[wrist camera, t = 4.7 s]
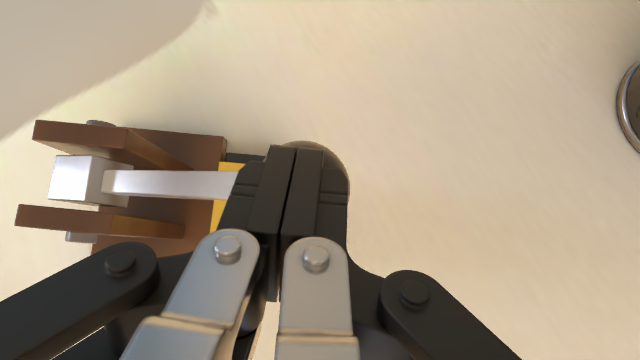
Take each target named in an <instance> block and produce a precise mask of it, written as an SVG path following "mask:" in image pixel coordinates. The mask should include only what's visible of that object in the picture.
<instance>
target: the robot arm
mask: <svg viewBox="0 0 640 360" xmlns="http://www.w3.org/2000/svg"><path fill="white" fill-rule="evenodd" d="M617 112H618V117H619V121H620V124H621V127H622V129H623V132H624V134H625V135H626V137H627V139H628V140H629V142H630V143H631V144H632V146H633V147H634V148H635V149H636V150H637V151H638V152H639V153H640V61H638V62H637V63H636V64H634V65H633V66H632V67H631V68H630V70H629V71H628V72H627V73H626V75H625V76H624V78H623V80H622V82H621V85H620V88H619V91H618V96H617ZM323 158H324V149H315V148H304V147H299V148H298V152H297V147H293V146H282V145H272V144H271V145H270V148H269V151H268V155H267V158H266V161H265V162H264V161H254V160H250V161H249V162H248V163H247V164H246V165H244V166H243V167H242V168H241V169H240V170H239V171H238V174H237V177H236V179H235V182H234V185H233V187H232V190H231V192H230V195H229V197H228V200H227V202H226V205H225V208H224V210H223V213H222V215H221V218H220V221H219V223H218V226H217V228H216V231H215V232H212V233H210V234H208V235H207V236H205V237H204V238H203V239H202V240H201V241H200V242H199V244H198V245H197V247H196V249H195V250H194V251H191V252H188V253H184V254H179V255H172V256H166V257H159V258H157V256H156V253H155V251H154V250H153V249H152V248H151V247H149V246H148V245H146V244H143V243H140V242H121V243H117V244H114V245H111V246H109V247H106V248H104V249H102V250H100V251H98V252H96V253H94V254H92V255H91V256H89V257H87V258H85V259H83V260H81V261H79V262H77V263H75V264H73V265H71V266H69V267H67V268H65V269H63V270H61V271H59V272H57V273H55V274H53V275H52V276H50V277H48V278H46V279H44V280H42V281H40V282H38V283H36V284H34V285H32V286H30V287H28V288H26V289H24V290H22V291H20V292H18V293H16V294H14V295H13V296H11V297H9V298H7V299H5V300H3V301H1V302H0V360H50V359H51V358H53V357H55V356H56V355H58V354H59V353H61V352H63V351H64V350H66V349H67V348H69V347H71V346H72V345H74V344H75V343H77V342H79V341H80V340H82V339H83V338H85V337H87V336H88V335H90V334H91V333H93V332H95V331H96V330H98V329H99V328H101V327H103V326H104V327H103V328H101V329H100V330H98V331H97V332H95V333H93V334H92V335H90V336H89V337H87V338H85V339H84V340H82V341H81V342H79V343H78V344H76V345H74V346H73V347H71V348H70V349H68V350H66V351H65V352H63V353H62V354H60V355H58V356H57V357H55V358H54V359H52V360H252V358H253V354H254V351H255V348H256V344H257V341H258V338H259V334H260V331H261V321H262V318H263V315H264V310H265V305H266V301H270V302H277V296H278V291H279V302H281V303H280V315H279V327H278V333H277V337H276V346H275V358H274V360H522V359H521V358H520V357H518V356H517V355H516V354H515V353H514V352H513V351H512V350H511V349H510V348H509V347H508V346H506V345H505V344H504V343H503V342H502V341H501V340H500V339H499V338H498V337H497V336H496V335H494V334H493V333H492V332H491V331H490V330H489V329H488V328H487V327H486V326H485V325H484V324H483V323H481V322H480V321H479V320H478V319H477V318H476V317H475V316H474V315H473V314H472V313H471V312H469V311H468V310H467V309H466V308H465V307H464V306H463V305H462V304H461V303H460V302H459V301H458V300H456V299H455V298H454V297H453V296H452V295H451V294H450V293H449V292H448V291H447V290H446V289H444V288H443V287H442V286H441V285H440V284H439V283H438V282H437V281H436V280H434V279H433V278H431V277H430V276H428V275H426V274H424V273H421V272H418V271H412V270H401V271H396V272H394V273H391V274H390V275H388V276H387V277H386V278H382V277H380V276H377V275H374V274H372V273H369V272H367V271H365V270H363V269H362V268H360V267H359V266H358V265H356V264H355V263H354V262H353V261H352V259H351V258H350V256H349V254H348V252H347V249H346V233H347V202H348V179H347V178H346V176H345V174H344V173H343V171H342V169H338V168H328V167H323Z"/></svg>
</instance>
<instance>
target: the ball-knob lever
mask: <svg viewBox="0 0 640 360" xmlns="http://www.w3.org/2000/svg"><path fill="white" fill-rule="evenodd" d="M282 146H293V147H297V152H298V148H299V147H304V148H315V149H324V158H323V167H328V168H338V169H342V171H343V173H344V174H345V176H346V178H347V179H348V201H349V195H350V182H349V177H348V174H347V171H346V169H345V167H344V165H343V163H342V162H341V161H340V159H339V158H338V157H337V156H336V155H335V154H334V153H333V152H332V151H331V150H329V149H328V148H326V147H324V146H323V145H320V144H317V143H315V142H310V141H294V142H289V143H286V144H284V145H282ZM266 158H267V156H266ZM266 158H265V159H264V160H263V161H264V162H265V161H266ZM133 169H134V166H133V165H130V164H126V163H122V162H118V161H114V160H110V159H107V158H103V157H99V156H95V155H57V156H56V158H55V163H54V169H53V174H52V179H51V184H50V189H49V194H48V199H49V200H56V201H63V202H70V203H77V204H84V205H92V206H106V207H121V208H127V206H128V199H129V196H144V197H163V198H183V199H202V200H221V201H227V200H228V197H229V195H230V192H231V190H232V187H233V185H234V182H235V179H236V177H237V174H238V171H171V170H133ZM347 204H348V202H347Z"/></svg>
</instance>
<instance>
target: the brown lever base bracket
mask: <svg viewBox="0 0 640 360" xmlns="http://www.w3.org/2000/svg"><path fill="white" fill-rule="evenodd" d="M32 140H34V141H37V142H39V143H42V144H45V145H47V146H50V147H53V148H55V149H58V150H61V151H64V152H66V153H69V154H72V155H95V156H99V157H103V158H107V159H110V160H114V161H118V162H122V163H126V164H130V165H133V166H134V169H133V170H171V171H218V168H219V162H224V159H225V152H226V144H227V140H226V139H225V138H224V137H221V136H210V135H200V134H189V133H179V132H169V131H158V130H148V129H137V128H127V127H117V126H115V125H113V124H111V123H108V122H103V121H97V120H89V121H87V124H77V123H67V122H56V121H46V120H36V122H35V127H34V132H33V136H32ZM213 205H214V200H202V199H183V198H163V197H144V196H129V199H128V206H127V208H121V207H106V206H99V211H98V212H95V211H85V210H75V209H64V208H54V207H44V206H34V205H24V204H19V205H18V209H17V214H16V219H15V224H14V225H15V226H20V227H30V228H40V229H50V230H60V231H67V232H66V237H65V241H68V242H78V243H92V244H93V245H92V251H91V255H92V254H94V253H96V252H98V251H100V250H102V249H104V248H106V247H109V246H111V245H114V244H117V243H121V242H140V243H143V244H146V245H148V246H149V247H151V248H152V249H153V250H154V251H155V253H156V256H157V258H159V257H166V256H172V255H179V254H184V253H188V252H191V251H194V250H195V249H196V247H197V245H198V244H199V242H200V241H201V240H202V239H203V238H204V237H205V236H207V235H208V234H210V227H211V220H212V212H213Z"/></svg>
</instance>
